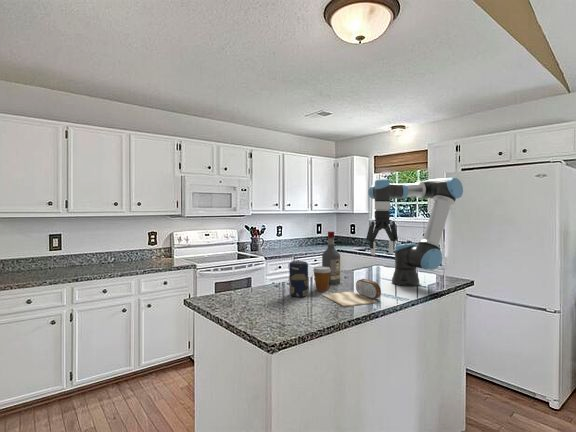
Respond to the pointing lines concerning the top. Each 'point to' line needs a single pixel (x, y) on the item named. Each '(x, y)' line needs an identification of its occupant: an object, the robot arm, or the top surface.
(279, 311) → the top surface
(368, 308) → the top surface
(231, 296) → the top surface
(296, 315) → the top surface
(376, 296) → the tin
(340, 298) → the oak board
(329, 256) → the liquor
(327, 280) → the disposable coffee cup
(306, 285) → the canister
